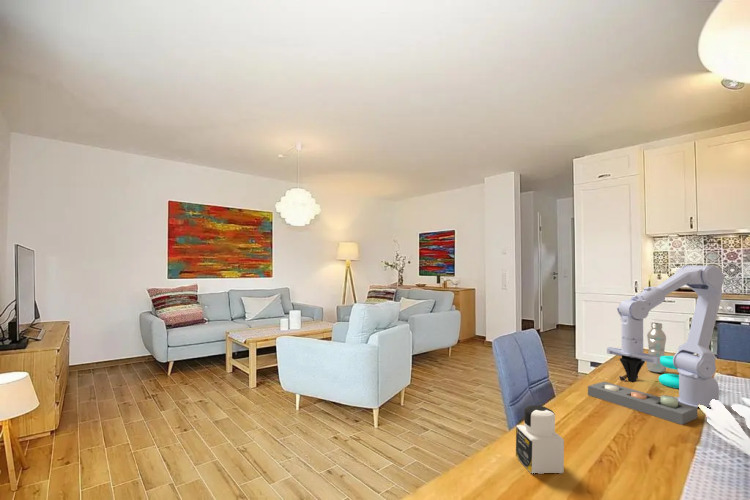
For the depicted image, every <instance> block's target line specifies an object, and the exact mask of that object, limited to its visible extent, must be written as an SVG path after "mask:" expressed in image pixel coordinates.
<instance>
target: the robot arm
mask: <svg viewBox="0 0 750 500" xmlns="http://www.w3.org/2000/svg"><path fill="white" fill-rule="evenodd" d="M724 281H725V274H724V273H723V272H722V270H721V269H720V268H719V266H717V265H712V264H711V265H694V264H693V265H691V264H686V265H685V264H684V265H682V267H680V268H678V269H676V272H675V273H674V274H672V275H671V276H669V277H668V278H667V279H666V280H664V281H663V282H662V283H660V284H659V285H657V286H646V287H644V288H643V290H642V291H640V292H639V293H638V294H636V295H633V296H631V298H630V299H624V300H622V301H621V302H619V305H618V307H616V310H617V313H618V315H619V317H620V321H621V348H619V347H617V348H616V347H611V346H609V347H607V348H606V354H607V355H615V356H619V357H621V358H619V361H620V364H621V365H622V367H623V369H624V371H625V375H626V374H627V378H626V379H627V381H628V382H629V383H636V382H637V376H638V375H639V373H640V371H641V369H642V367H643V366H644V364H645V362H646V363H647V362H651V363H654V364H660V357H657V356H653V355H649V353H645V352H644V319H646V318H647V317H648V316H649V313H650V312H651V311H652V309H654V308H656V307H658V306H659V305H661V304H662V303H664V302H665V300H666V296H667V295H669V294H671V293H673V292H675V291H677V290H678V289H680V288H682V287H684V286H688V288H690V289H691V290H692V291H694V292H695V293H696V295H697V299H696V305H695V308H694V312H693V317H692V320H691V325H690V328H689V333H688V336H687V340H686V342H685V343H683V344H681V345H679V346H678V349H677V351H676V353H674V355H673V356H674V357H673V364H674V366H675V367H676V368H677V372H678V375H679V389H678V397H677V396H674V397H675V398H677V399H678V402H680V403H683V404H687V405H691V406H694V407H698V405H699V404H700V405H704V406H706V407H709V408H708V409H711V408H710V405H709V403H710V401H711V400H712V399H715V400H719V401H720V399H719V398H720V388H719V387H720V386H719V382H718V381H717V380H716V379H715V378H714V377H713V376H714V374H715V373H716V371H717V370H716V369H717V366H716V358H717V357H716V355H715V354H714V352H713V351H711V349H710V344H711V340H712V337H713V332H714V328H715V325H716V321H717V317H718V312H719V309H720V306H721V305H720V304H721V300H722V297H723V289H722V287H723V285H724ZM638 377H639V376H638Z"/></svg>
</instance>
